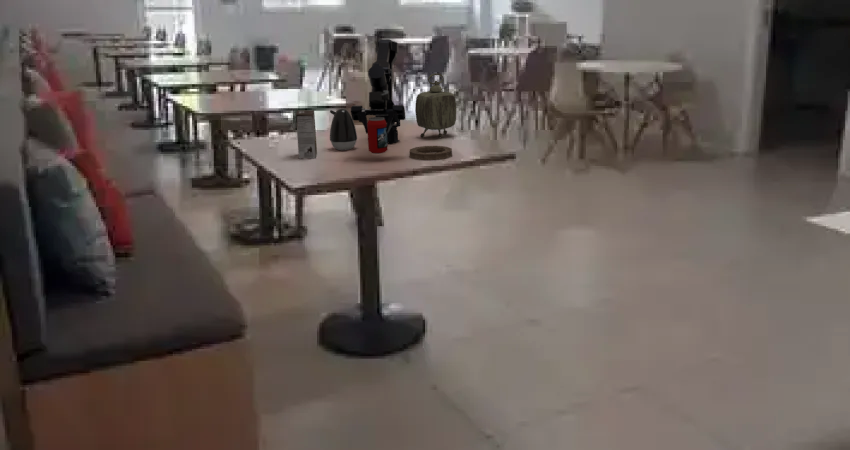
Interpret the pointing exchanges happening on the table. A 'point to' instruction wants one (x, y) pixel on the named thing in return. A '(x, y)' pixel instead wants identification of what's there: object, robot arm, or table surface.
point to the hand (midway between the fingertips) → (376, 132)
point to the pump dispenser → (342, 130)
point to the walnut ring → (423, 153)
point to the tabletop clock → (435, 108)
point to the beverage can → (377, 135)
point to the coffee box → (306, 134)
